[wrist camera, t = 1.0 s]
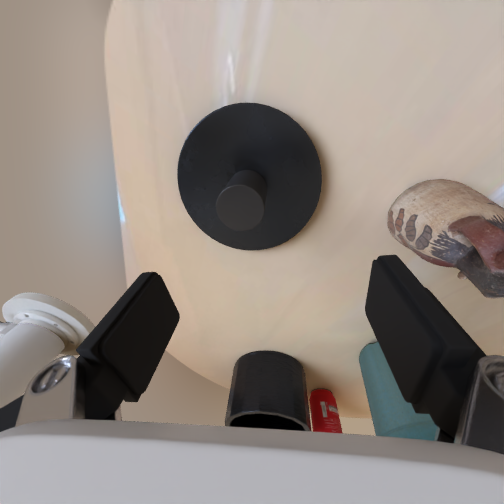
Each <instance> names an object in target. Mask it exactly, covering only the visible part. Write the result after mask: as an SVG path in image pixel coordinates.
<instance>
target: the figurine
mask: <svg viewBox="0 0 504 504" xmlns="http://www.w3.org/2000/svg"><path fill="white" fill-rule="evenodd" d="M388 228H389V231H390V233H391V234H392V235H393V237H394V238H395V239H396V240H398V241H399V242H400V243H401V244H403V245H404V246H406V247H408V248H410V249H411V250H412V251H414V252H415V253H416V254H417V255H419V256H420V257H421V258H422V259H424V260H426V261H428V262H430V263H433V264H436V265H439V266H445V267H455V268H458V269H459V270H460V272H459V273H458V278H460V279H467V278H468V279H469V280H470V281H471V282H472V283H473V284H474V285H475V286H476V287H477V288H478V289H479V290H480V292H481V293H482V294H483V295H484V296H485V297H488V298H504V208H502V207H501V206H499V205H497V204H496V203H494V202H493V201H491V200H490V199H488V198H487V197H485V196H484V195H482V194H480V193H479V192H477V191H475V190H473V189H472V188H470V187H468V186H466V185H464V184H462V183H459V182H456V181H451V180H444V179H439V180H428V181H424V182H421V183H418V184H416V185H414V186H412V187H411V188H409V189H407V190H406V191H405V192H404V193H403V194H401V195H400V196H399V197H398V198H397V199H396V201H395V202H394V203H393V205H392V206H391V208H390V210H389V212H388Z"/></svg>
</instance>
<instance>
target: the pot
mask: <svg viewBox="0 0 504 504" xmlns="http://www.w3.org/2000/svg"><path fill="white" fill-rule="evenodd" d="M225 426H228V427H245V428H262V429H279V430H295V431H311V423H310V414H309V405H308V396H307V387H306V378H305V373H304V369H303V367H302V365H301V364H300V363H299V362H298V361H297V360H296V359H294V358H293V357H291V356H289V355H286V354H283V353H280V352H275V351H255V352H251V353H248V354H245V355H243V356H242V357H240V358H239V359H238V360H237V362H236V364H235V366H234V370H233V376H232V382H231V388H230V394H229V400H228V406H227V412H226V418H225Z"/></svg>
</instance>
